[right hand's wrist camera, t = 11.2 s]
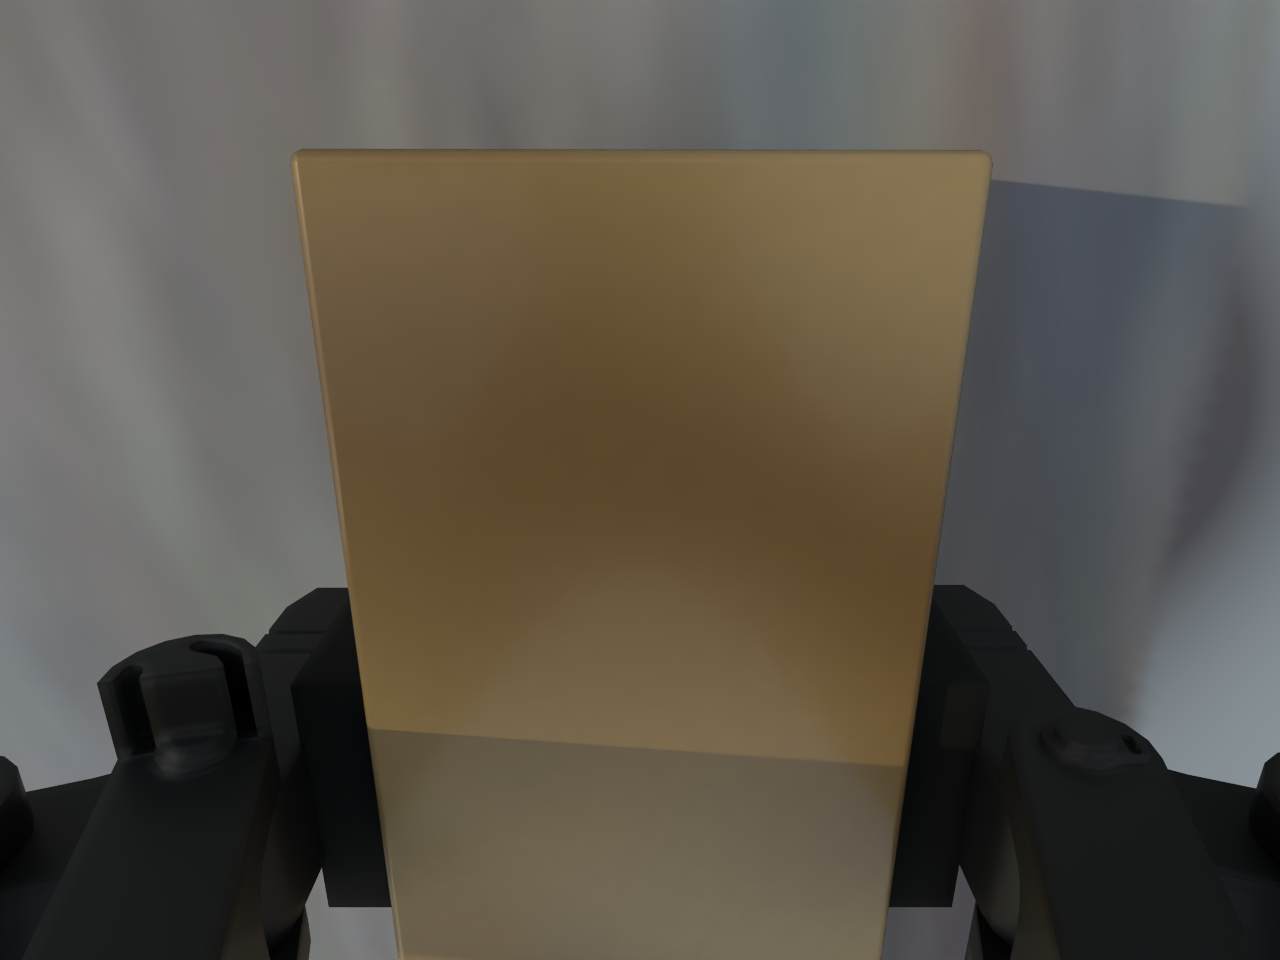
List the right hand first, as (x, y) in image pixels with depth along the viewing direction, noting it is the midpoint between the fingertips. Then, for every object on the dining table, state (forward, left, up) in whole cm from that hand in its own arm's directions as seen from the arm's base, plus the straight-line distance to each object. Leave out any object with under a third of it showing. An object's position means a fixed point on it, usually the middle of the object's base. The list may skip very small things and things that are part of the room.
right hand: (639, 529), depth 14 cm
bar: (+16, +28, -1) cm, 32 cm away
